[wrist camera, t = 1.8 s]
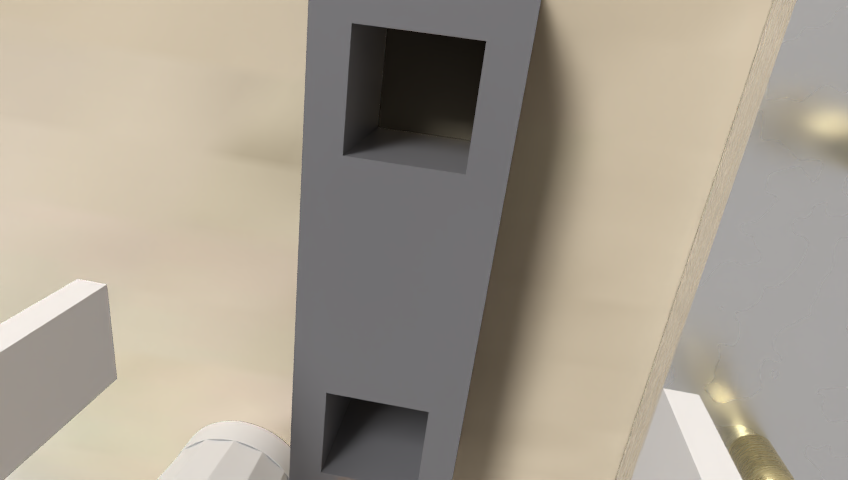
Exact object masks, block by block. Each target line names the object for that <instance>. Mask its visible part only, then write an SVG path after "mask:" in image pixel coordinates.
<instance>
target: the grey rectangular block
mask: <svg viewBox="0 0 848 480" xmlns="http://www.w3.org/2000/svg"><path fill="white" fill-rule="evenodd" d="M540 4H541V0H309V2H308V27H307V51H306V76H305V100H304V125H303V150H302V174H301V199H300V223H299V248H298V273H297V297H296V322H295V346H294V371H293V396H292V420H291V445H290V469H289V480H452V478H453V473H454V467H455V462H456V457H457V451H458V446H459V440H460V435H461V430H462V424H463V419H464V413H465V408H466V403H467V397H468V392H469V387H470V381H471V376H472V370H473V365H474V360H475V354H476V349H477V343H478V338H479V333H480V327H481V322H482V316H483V311H484V306H485V300H486V295H487V289H488V284H489V279H490V273H491V268H492V263H493V257H494V252H495V246H496V241H497V236H498V230H499V225H500V219H501V214H502V209H503V203H504V198H505V192H506V187H507V182H508V176H509V171H510V166H511V160H512V155H513V149H514V144H515V139H516V133H517V128H518V122H519V117H520V112H521V106H522V101H523V95H524V90H525V85H526V79H527V74H528V68H529V63H530V58H531V52H532V47H533V42H534V36H535V31H536V25H537V20H538V15H539V9H540ZM387 28H392V29H400V30H407V31H415V32H422V33H430V34H437V35H445V36H452V37H460V38H467V39H474V40H482V41H486V47H485V53H484V60H483V66H482V73H481V79H480V85H479V92H478V98H477V105H476V111H475V118H474V124H473V130H472V137H471V141H468V140H462V139H455V138H448V137H441V136H435V135H428V134H421V133H414V132H408V131H401V130H394V129H387V128H381V127H378V124H379V113H380V102H381V91H382V80H383V69H384V58H385V47H386V36H387Z"/></svg>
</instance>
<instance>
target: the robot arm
mask: <svg viewBox="0 0 848 480" xmlns="http://www.w3.org/2000/svg"><path fill="white" fill-rule="evenodd" d="M116 379H117V373H116V364H115V355H114V345H113V336H112V327H111V317H110V308H109V299H108V289H107V284H103V283H97V282H92V281H87V280H81V279H76V280H75V281H73V282H71V283H70V284H68V285H66V286H64V287H63V288H61V289H59V290H57V291H56V292H54V293H52V294H51V295H49V296H47V297H45V298H44V299H42V300H40V301H39V302H37V303H35V304H33V305H32V306H30V307H28V308H26V309H25V310H23V311H21V312H20V313H18V314H16V315H14V316H13V317H11V318H9V319H8V320H6V321H4V322H2V323H1V324H0V480H4V479H5V478H6V477H7V476H9V475H10V474H11V473H12V472H13V471H14V470H15V469H16V468H18V467H19V466H20V465H21V464H22V463H23V462H24V461H25V460H26V459H28V458H29V457H30V456H31V455H32V454H33V453H34V452H35V451H37V450H38V449H39V448H40V447H41V446H42V445H43V444H44V443H46V442H47V441H48V440H49V439H50V438H51V437H52V436H53V435H54V434H56V433H57V432H58V431H59V430H60V429H61V428H62V427H63V426H65V425H66V424H67V423H68V422H69V421H70V420H71V419H72V418H74V417H75V416H76V415H77V414H78V413H79V412H80V411H81V410H82V409H84V408H85V407H86V406H87V405H88V404H89V403H90V402H91V401H93V400H94V399H95V398H96V397H97V396H98V395H99V394H100V393H102V392H103V391H104V390H105V389H106V388H107V387H108V386H109V385H110V384H112V383H113V382H114V381H115V380H116ZM631 480H742V478H741V476H740V474H739V472H738V470H737V468H736V466H735V464H734V462H733V460H732V458H731V456H730V454H729V452H728V451H727V449H726V447H725V445H724V443H723V441H722V439H721V437H720V435H719V433H718V431H717V429H716V427H715V425H714V423H713V421H712V419H711V417H710V415H709V413H708V411H707V410H706V408H705V406H704V404H703V402H702V400H701V398H700V396H699V395H697V394H692V393H686V392H681V391H676V390H670V389H665V388H663V390H662V393H661V396H660V399H659V402H658V404H657V407H656V410H655V413H654V416H653V419H652V422H651V425H650V427H649V430H648V433H647V436H646V439H645V442H644V445H643V448H642V450H641V453H640V456H639V459H638V462H637V465H636V468H635V471H634V473H633V476H632V479H631Z"/></svg>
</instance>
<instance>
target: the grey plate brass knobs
mask: <svg viewBox="0 0 848 480" xmlns="http://www.w3.org/2000/svg"><path fill="white" fill-rule="evenodd" d="M663 388H665V389H670V390H676V391H681V392H686V393H692V394H697V395H699V396H700V398H701V400H702V402H703V404H704V406H705V408H706V410H707V411H708V413H709V415H710V417H711V419H712V421H713V423H714V425H715V427H716V429H717V431H718V433H719V435H720V437H721V439H722V441H723V443H724V445H725V447H726V449H727V451H728V452H729V454H730V456H731V458H732V460H733V462H734V464H735V466H736V468H737V470H738V472H739V474H740V476H741V478H742V480H848V0H774V1H773V4H772V7H771V10H770V13H769V16H768V19H767V22H766V25H765V28H764V31H763V34H762V37H761V40H760V43H759V46H758V49H757V52H756V55H755V58H754V61H753V64H752V68H751V71H750V74H749V77H748V80H747V83H746V86H745V89H744V92H743V95H742V98H741V101H740V104H739V107H738V110H737V113H736V116H735V119H734V122H733V125H732V128H731V131H730V134H729V137H728V140H727V143H726V146H725V149H724V152H723V155H722V158H721V161H720V164H719V167H718V170H717V173H716V176H715V180H714V183H713V186H712V189H711V192H710V195H709V198H708V201H707V204H706V207H705V210H704V213H703V216H702V219H701V222H700V225H699V228H698V231H697V234H696V237H695V240H694V243H693V246H692V249H691V252H690V255H689V258H688V261H687V264H686V267H685V270H684V273H683V276H682V279H681V282H680V285H679V288H678V292H677V295H676V298H675V301H674V304H673V307H672V310H671V313H670V316H669V319H668V322H667V325H666V328H665V331H664V334H663V337H662V340H661V343H660V346H659V349H658V352H657V355H656V358H655V361H654V364H653V367H652V370H651V373H650V376H649V379H648V382H647V385H646V388H645V391H644V394H643V397H642V400H641V403H640V407H639V410H638V413H637V416H636V419H635V422H634V425H633V428H632V431H631V434H630V437H629V440H628V443H627V446H626V449H625V452H624V455H623V458H622V461H621V464H620V467H619V470H618V473H617V476H616V479H615V480H631V479H632V476H633V473H634V471H635V468H636V465H637V462H638V459H639V456H640V453H641V450H642V448H643V445H644V442H645V439H646V436H647V433H648V430H649V427H650V425H651V422H652V419H653V416H654V413H655V410H656V407H657V404H658V402H659V399H660V396H661V393H662V390H663Z"/></svg>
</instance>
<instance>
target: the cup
mask: <svg viewBox="0 0 848 480" xmlns="http://www.w3.org/2000/svg"><path fill="white" fill-rule="evenodd" d="M289 469H290V447H289V446H288V445H287V444H286V443H285V442H284V441H283V440H282V439H280V438H279V437H278V436H276V435H275V434H273V433H272V432H270V431H268V430H266V429H264V428H262V427H259V426H257V425H254V424H250V423H246V422H241V421H221V422H216V423H212V424H209V425H207V426H205V427H203V428H201V429H200V430H199V431H197V432H196V433H195V434H194V435H193V436H192V438H191V439H190V440H189V442H188V443H187V444H186V446H185V447H184V448H183V450H182V451H181V452H180V454H179V455H178V456H177V458H176V459H175V460H174V461H173V462H172V463H171V464H170V465H169V467H168V468H167V469H166V470H165V471H164V472H163V473H162V474H161V476H160V477H159V478H158V479H157V480H289Z"/></svg>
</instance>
